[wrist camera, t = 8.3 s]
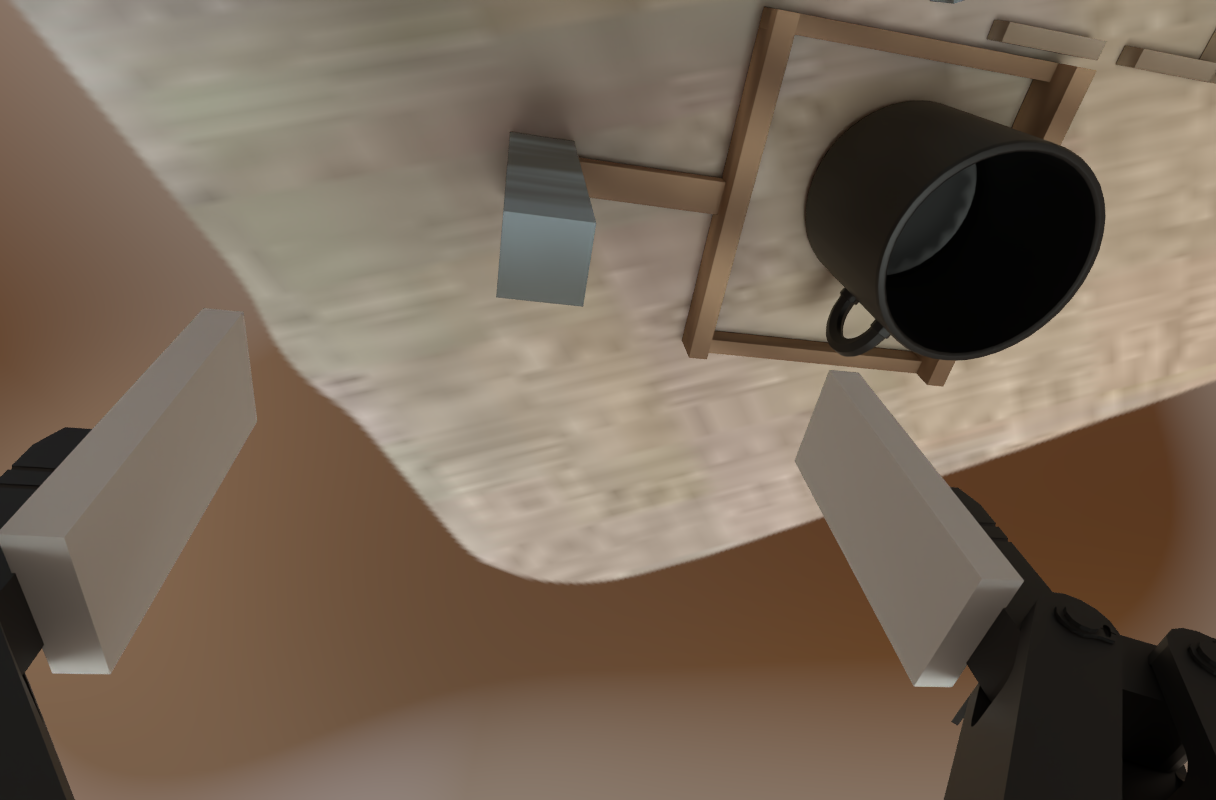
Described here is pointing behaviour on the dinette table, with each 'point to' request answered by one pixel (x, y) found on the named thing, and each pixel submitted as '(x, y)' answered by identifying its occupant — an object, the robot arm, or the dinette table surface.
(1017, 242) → the mug
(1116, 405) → the dinette table surface
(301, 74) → the dinette table surface
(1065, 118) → the wooden frame with post
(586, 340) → the dinette table surface
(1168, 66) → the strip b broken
